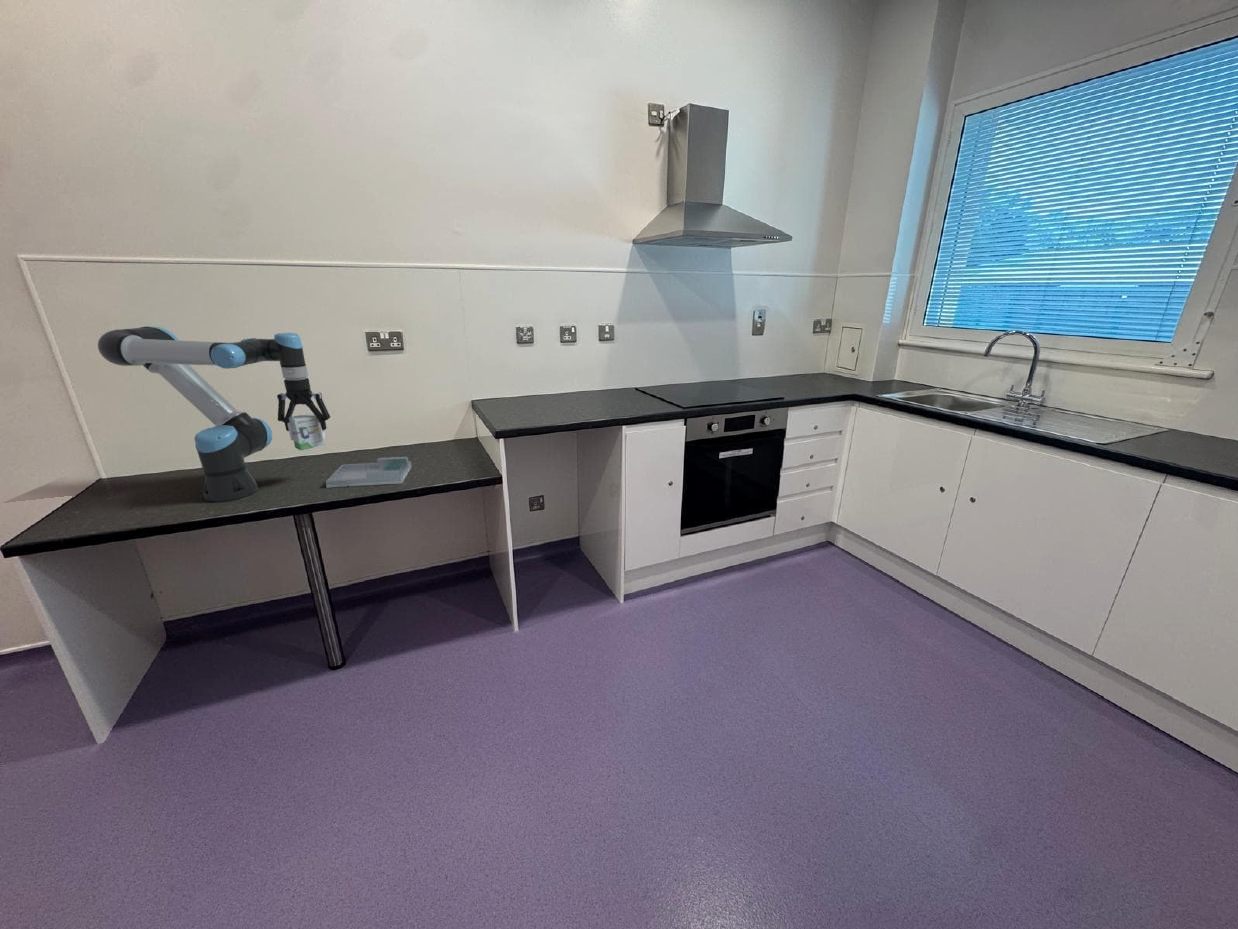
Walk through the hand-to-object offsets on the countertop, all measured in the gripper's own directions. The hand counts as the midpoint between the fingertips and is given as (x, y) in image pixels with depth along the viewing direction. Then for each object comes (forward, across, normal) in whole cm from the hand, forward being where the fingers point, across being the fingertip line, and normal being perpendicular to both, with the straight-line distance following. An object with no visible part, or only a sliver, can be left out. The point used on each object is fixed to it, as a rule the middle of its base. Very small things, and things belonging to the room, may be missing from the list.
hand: (308, 438), depth 182 cm
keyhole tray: (+16, +20, 0) cm, 25 cm away
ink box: (+3, 0, 0) cm, 3 cm away
